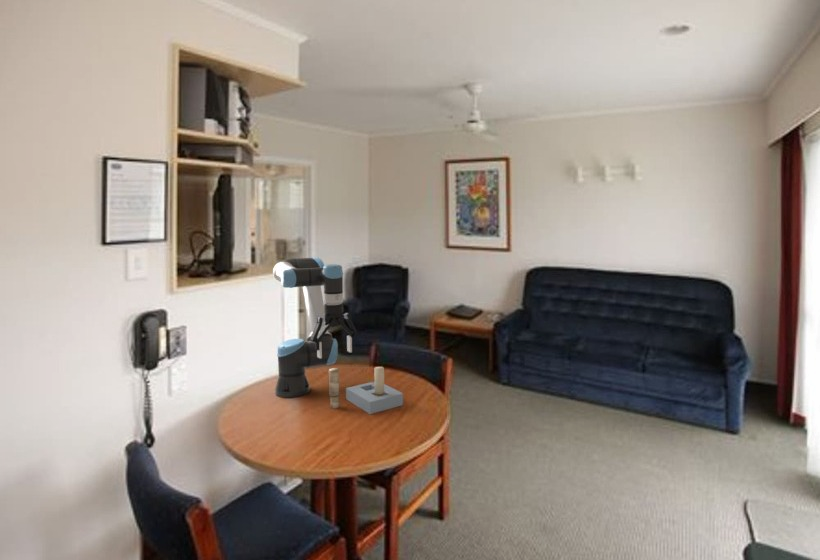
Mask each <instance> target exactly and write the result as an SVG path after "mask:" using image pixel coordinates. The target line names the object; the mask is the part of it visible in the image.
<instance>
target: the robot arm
mask: <svg viewBox="0 0 820 560" xmlns="http://www.w3.org/2000/svg"><path fill="white" fill-rule="evenodd" d="M272 273H273V274H272V275H273V277H274V278H275V279H276V280H277V282H280V283H281V285H282V288H285V289H286V288H290V289H293V288H301V289H302V291H303V299H304V305H305V312H306V320H307V327H308V333H309V335H308V336H307V338H306V341H305V340H304V339H303V338H292V339H288V340H285V341H282V342H281V343H280V344H278V346H277V363H278V364H277V366H278V367H277V368H278V371H277V372H278V377H277V381H276V384H275V389H274V392H275V395H276V396H277V397H280V398H297V397H301V396H302V397H303V396H305V395H306V394H308V393H310V391H311V389H310V388H311V387H310V383H309V381H308V378H307V376H306V369H307V368H315V367H323V366H329V365H330V366H331V365H334V364H335V363H336V362H337V360H338V353H339V351H338V350H339V349H338V347H339V344H338V339H336V338H333V335H332V333H330V332H329V329H330V328H334V327H339V326H340V327H341V328H342V329H343V330H344V331H345V332H346V334H347V335H346V349H347V350H346V352H348V353H353V344H354V337H355V335H358V334H359V333H358V330H357V328H356V326H355V324H354V322H353V320H352V318H351V313H349V312H345V313H344V304H343V303H344V289H343V288H344V285H343V284H344V283H343V282H344V278H343V277H344V271H343V266H342V265H341V264H336V263H335V264H334V263H333V264H324V262H323V260H322V259H321V258H319V257H300V258H299V257H298V258H287V259H283V260H280V261H278V262H277V263H276V264H275V265H274V267H273V269H272ZM322 286H323V291H322ZM322 292H323V293H322ZM344 319H345V321H346V323H347V324H348V326H347V325H346V323H345V322H344Z"/></svg>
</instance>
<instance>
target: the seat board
mask: <svg viewBox="0 0 820 560" xmlns="http://www.w3.org/2000/svg"><path fill="white" fill-rule="evenodd" d="M373 370H374V373H373V374H374V377H373V378H374V381H370V382H366V383H362V384H357V385H354V386H348V387H345V396H346V397H345V399H346V400H347V401H348V402H350V403H352V404H353V405H355V406H356V407H358V408H359V409H361V410H363V411H364V412H365V413H367V414H369V415H372V414H377V413H380V412H383V411H387V410H391V409H394V408H398V407H402V406H404V393H403V392H401V391H399V390H398V389H395V388H393V387H391V386H389V385H387V384H386V383H385V367H383V366H375V367H374V368H373Z"/></svg>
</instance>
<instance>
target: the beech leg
mask: <svg viewBox="0 0 820 560" xmlns="http://www.w3.org/2000/svg"><path fill="white" fill-rule="evenodd" d="M339 371H340V370H339V368H337V367H333V368H329V369H328V385H329V386H328V388H329V390H328V391H329V392H328V393H329V394H328V395H329V399H330V409H332V410H333V409H334V410H336V409H339V407H340V401H339V400H340V399H339V397H340V380H339V379H340V376H339V375H340V372H339Z"/></svg>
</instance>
